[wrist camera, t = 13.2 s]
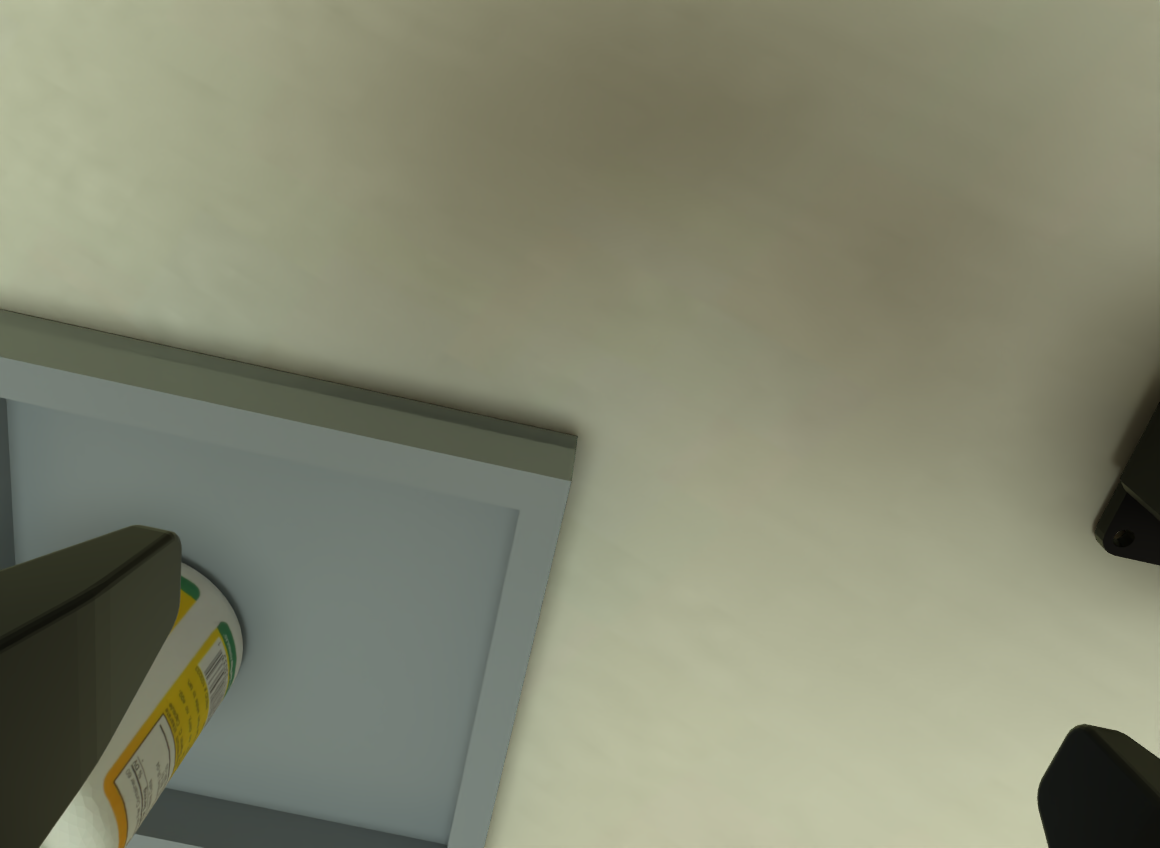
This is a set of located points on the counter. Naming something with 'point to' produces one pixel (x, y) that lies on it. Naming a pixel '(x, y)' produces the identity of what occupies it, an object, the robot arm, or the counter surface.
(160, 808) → the tray
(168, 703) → the supplement bottle
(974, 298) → the counter surface
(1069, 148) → the counter surface
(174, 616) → the robot arm
